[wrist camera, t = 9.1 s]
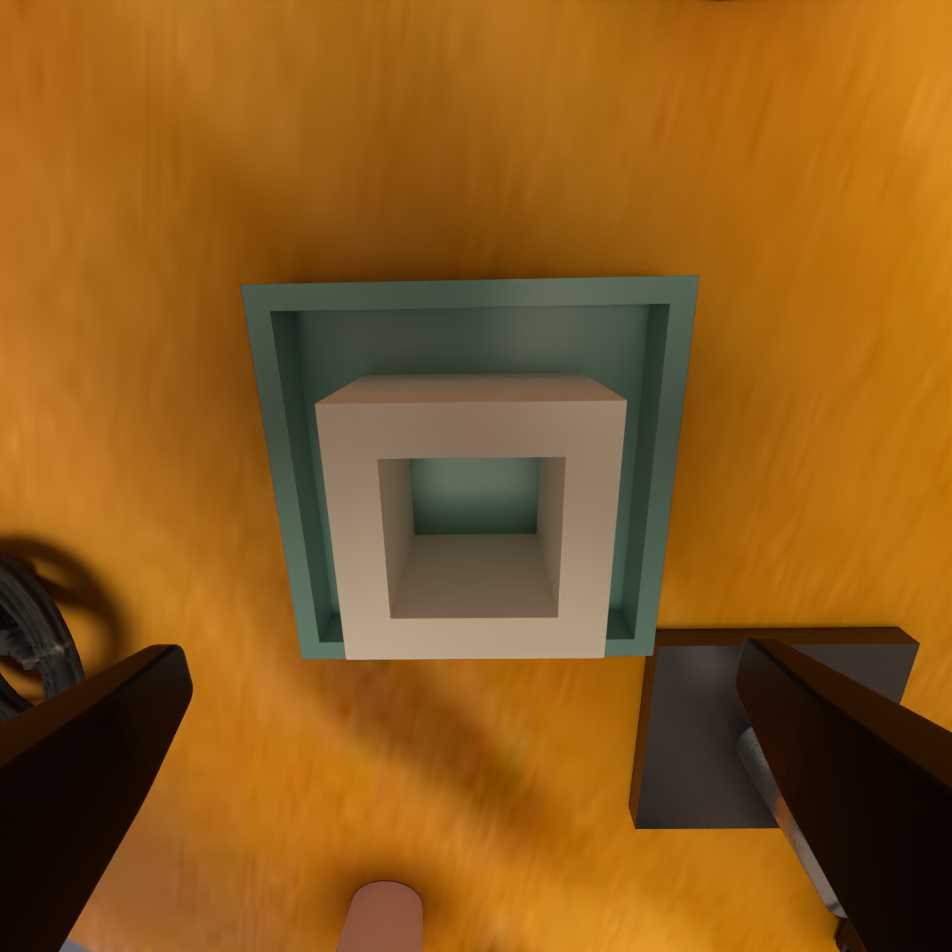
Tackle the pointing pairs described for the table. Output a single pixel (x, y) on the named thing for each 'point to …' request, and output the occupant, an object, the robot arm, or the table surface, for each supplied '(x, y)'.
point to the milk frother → (33, 637)
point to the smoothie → (383, 920)
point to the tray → (473, 352)
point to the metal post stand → (736, 729)
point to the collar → (472, 555)
